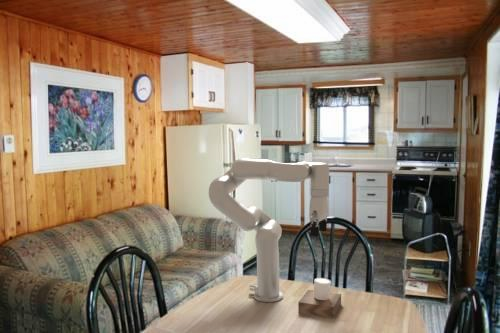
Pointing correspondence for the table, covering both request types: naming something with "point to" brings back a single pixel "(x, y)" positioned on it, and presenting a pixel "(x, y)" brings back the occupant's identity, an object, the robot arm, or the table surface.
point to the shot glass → (321, 288)
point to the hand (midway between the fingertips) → (318, 233)
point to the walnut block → (319, 305)
